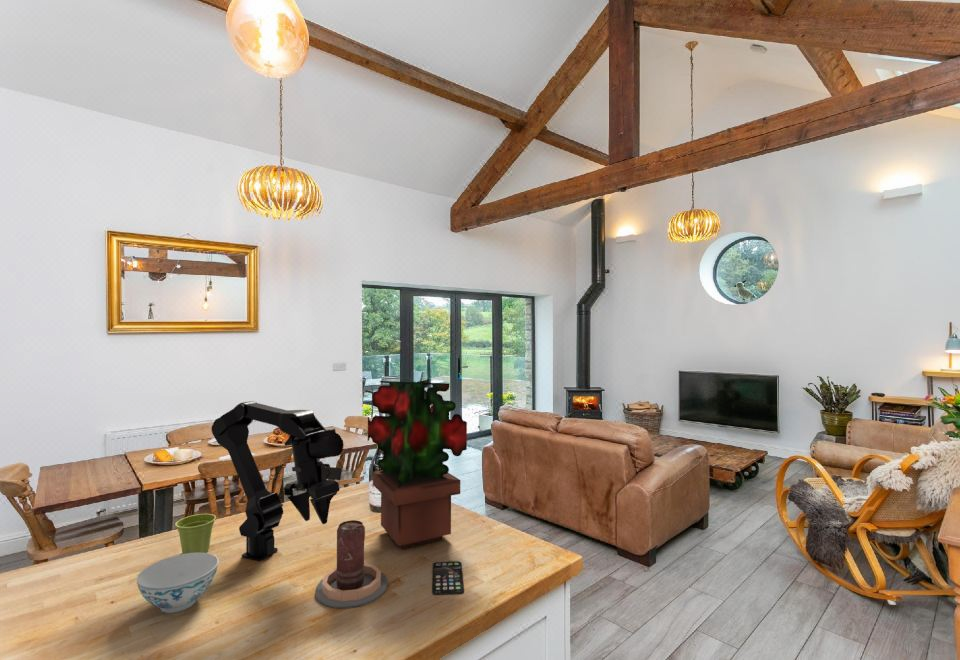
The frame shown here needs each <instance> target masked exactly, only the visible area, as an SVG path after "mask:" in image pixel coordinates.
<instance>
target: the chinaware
mask: <svg viewBox="0 0 960 660" xmlns="http://www.w3.org/2000/svg"><path fill="white" fill-rule="evenodd" d="M218 566H219V558H218V557H217V555H215V554H212V553H209V552H206V553H187V554H177V555H173V556H169V557H166V558H163V559H161V560H159V561H156V562H154V563H152V564H150V565H148V566H147V567H144V569H142V570H141V571H140V572H139V573H138V575H137V577H136V583H137V584H136V585H137V588H138V590H139V593H140V594H141V596H142V598H143V599H144V600H145V601H146V602H148V603H149V604H150V605H152V606H154V607H157V608H160V609H159V610H160V611H161V612H163V613H167V614H171V613H178V612H182V611H184V610H186V609H188V608H191V607H192V606H194V605H195V603H196V602H197V600H198V598H199V597H200V596H202V594H204V593H205V592H206V591H207V590H208V588H209V586H210V585H211V584H212V582H213V580H214V578H215V575H216V573H217V570H218Z"/></svg>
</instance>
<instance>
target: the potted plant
mask: <svg viewBox="0 0 960 660" xmlns="http://www.w3.org/2000/svg"><path fill="white" fill-rule="evenodd" d="M379 382H380V383H382V384H385V385H379V387H378V389H377V390H376V391H374V392H373V393H372V395H371V404H372V406H374V407H375V408H376V409H377V410H378V412H379V413H380V414H385V415H375V416H373V417H372V418H371V420H370V417H369V416H367V442H369V441H370V439H371V440H372V443H374V444H375V445H376V446H377V448H378V449H379V450H381V451H382V452H383V458H380V459H378V461H377V466H378V468H379V469H381V470H375V471H372V485H373V487H374V488H375V489H376V490H378V492H380V526H381V527H382V528H383V529H384V530H385V532H386V533H387V535H389V537H390V538H391V539H392V540H393V541H394V543H395V544H396V545H397V546H398V547H401V548H402V550H403V549H407V547H408V548H411V546H412V547H416V545H417V546H420V544H421V545H424V543H425V544H428V542H430V543H433V541H434V542H438V541H442V540H443V537H445V536H448V535H451V534H452V496H456V495H460V494H461V479H459V478H458V477H457V476H454V475H453V474H451V473H449V472H450V469H449V466H448V465H446V464H445V462H447V461H449V458H450V456H449V453H447V451H444V450H450V451H451V453H452V455H453V456H455V457H460V456H461V455H462V453H463V451H466V450H468V449H467V447H468V444H467V443H468V442H467V441H468V436H467V435H468V422H467V421H465V420H463V417H462V415H460V414H459V413H455V414H453V415H452V417H451V419H450V412H452V411H455V409H456V408H457V406H456V403H455V402H454V401H452V400H445V399H444V398H443V396H442V394H441V393H440V394H439V393H438V392H443V393H444V392H447V391H449V389H450V383H447V382H444V383H443V382H430V378H428V379H424V380H418V381H398V380H397V381H391V380H379ZM386 384H388V385H386ZM430 385H431V387H429V386H430ZM425 388H427V390H426V389H425ZM441 539H442V540H441ZM437 540H438V541H437Z"/></svg>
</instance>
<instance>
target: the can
mask: <svg viewBox="0 0 960 660" xmlns="http://www.w3.org/2000/svg"><path fill="white" fill-rule="evenodd" d="M363 523H364V522H362V521H360V520H354V519H353V520H346V521H342V522H341V523H339V524H338V527H337V530H336V568H337V587H338V588H339V589H340V590H354V589H358V588H359V587H361V585H362V584H363V582H364V563H365V538H366V527H365V525H364V524H363Z"/></svg>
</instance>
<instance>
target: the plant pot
mask: <svg viewBox="0 0 960 660" xmlns="http://www.w3.org/2000/svg"><path fill="white" fill-rule="evenodd" d="M216 519H217V516H216V515H215V514H211V513H199V514H198V513H197V514H193V515H188V516H186V517H183V518H180V519H179V520H177V521H176V522H175V524H174V526H175V528H177V531H178V534H179V540H180V545H181V552H182V554H187V553H208V551H209V549H210V545H211V539H212V531H213V526H214V524H215V521H216Z"/></svg>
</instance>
